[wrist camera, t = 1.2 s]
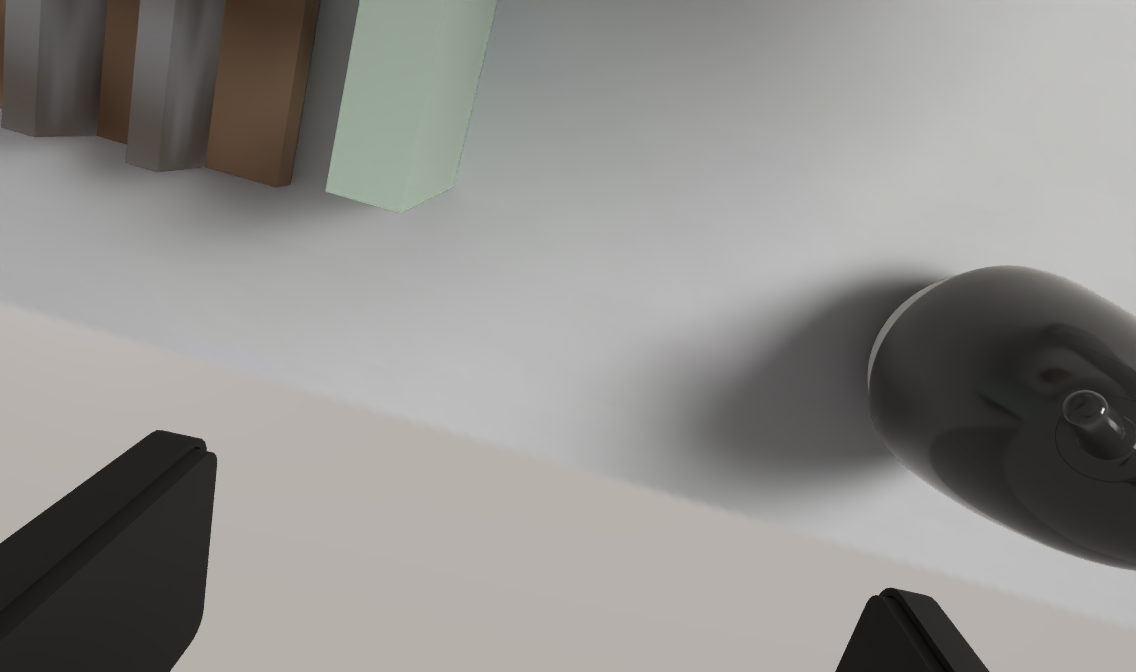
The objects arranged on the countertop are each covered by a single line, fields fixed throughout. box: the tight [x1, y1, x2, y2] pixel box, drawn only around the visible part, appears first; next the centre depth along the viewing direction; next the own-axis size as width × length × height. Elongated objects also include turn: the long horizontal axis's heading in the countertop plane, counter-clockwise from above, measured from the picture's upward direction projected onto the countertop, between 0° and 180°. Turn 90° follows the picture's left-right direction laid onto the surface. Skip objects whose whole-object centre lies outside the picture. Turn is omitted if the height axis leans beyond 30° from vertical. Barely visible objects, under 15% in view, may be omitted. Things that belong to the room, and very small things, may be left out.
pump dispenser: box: [867, 266, 1136, 571], centre depth 26 cm, size 10×10×15 cm
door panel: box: [325, 0, 498, 213], centre depth 24 cm, size 12×2×10 cm, turn 164°
